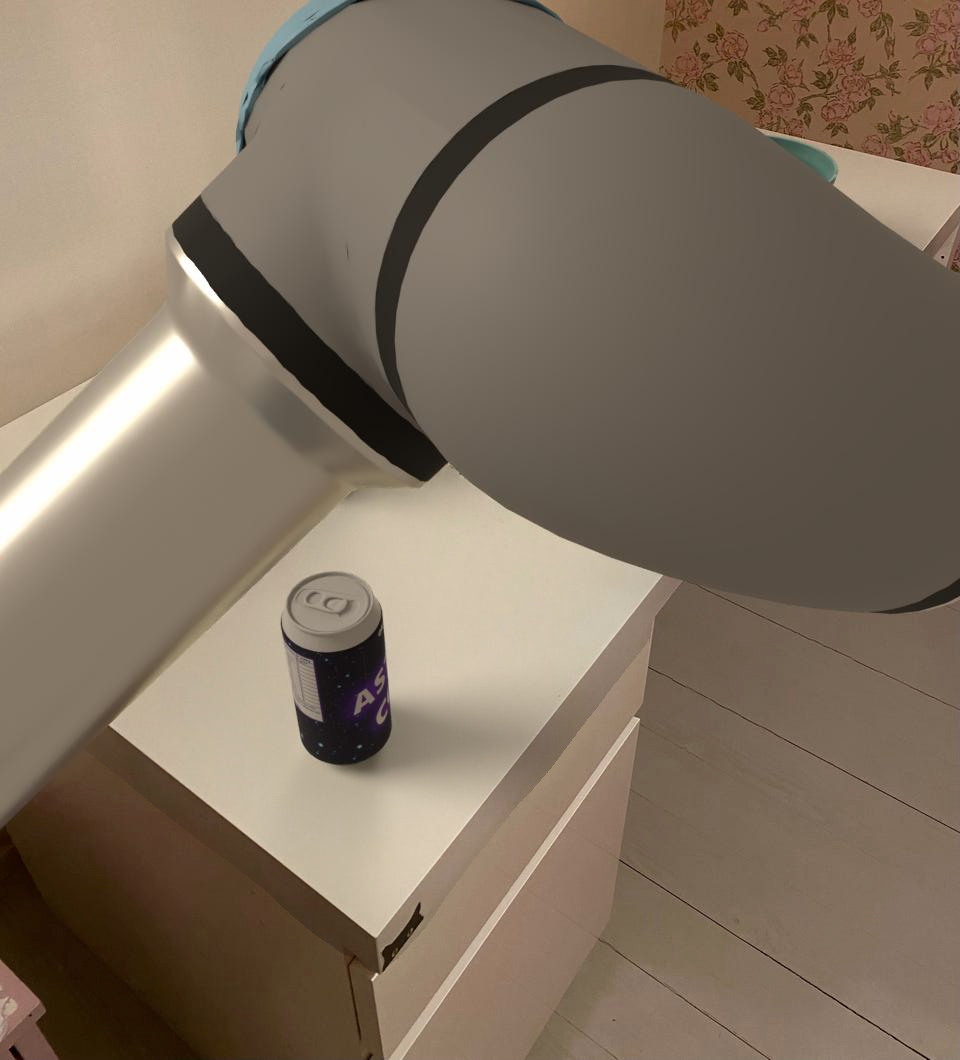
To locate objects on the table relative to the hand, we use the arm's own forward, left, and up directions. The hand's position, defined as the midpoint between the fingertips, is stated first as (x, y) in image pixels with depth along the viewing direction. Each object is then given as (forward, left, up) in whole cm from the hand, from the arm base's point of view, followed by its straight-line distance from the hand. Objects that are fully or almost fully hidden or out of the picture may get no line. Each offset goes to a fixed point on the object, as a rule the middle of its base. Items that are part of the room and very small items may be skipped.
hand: (462, 451), depth 69 cm
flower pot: (+55, +18, -11) cm, 59 cm away
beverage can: (-15, -7, -11) cm, 20 cm away
